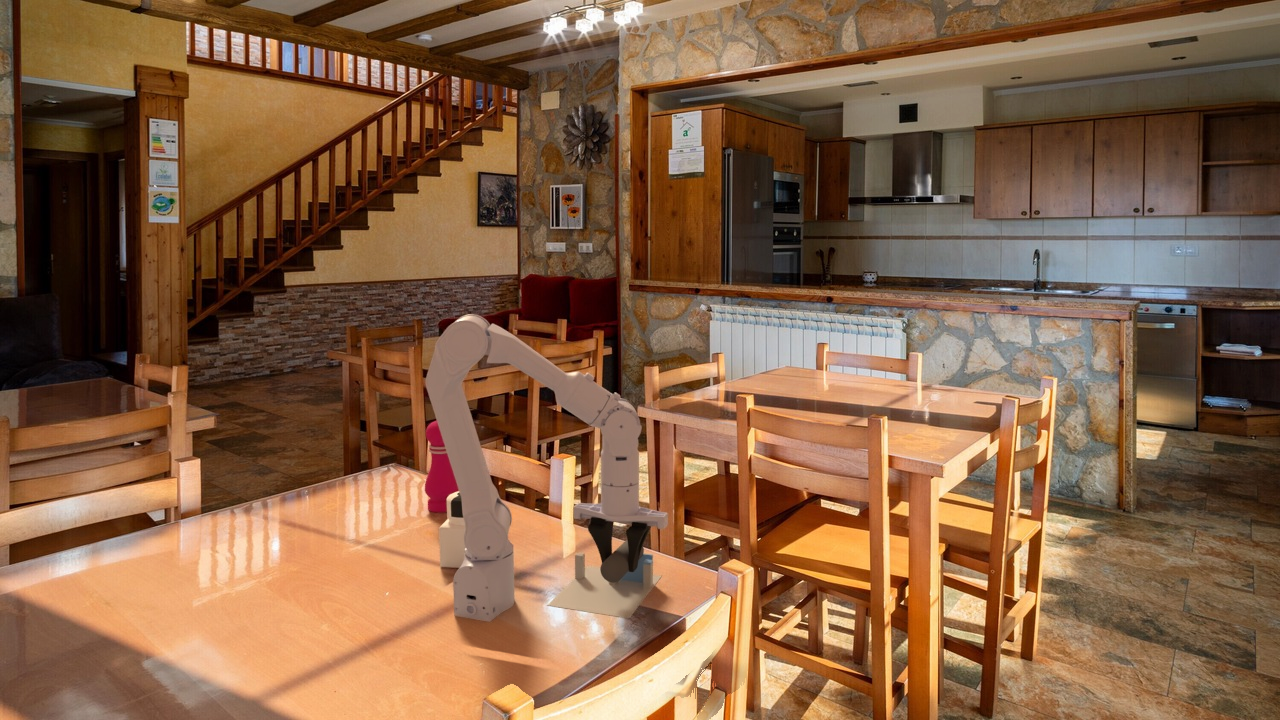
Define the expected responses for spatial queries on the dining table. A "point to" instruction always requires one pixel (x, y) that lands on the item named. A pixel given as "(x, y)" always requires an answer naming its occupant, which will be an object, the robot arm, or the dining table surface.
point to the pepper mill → (439, 472)
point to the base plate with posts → (607, 589)
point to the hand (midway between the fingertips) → (620, 567)
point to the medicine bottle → (452, 534)
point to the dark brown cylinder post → (617, 563)
